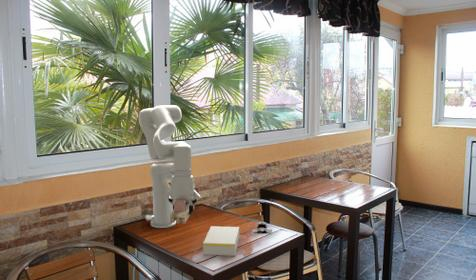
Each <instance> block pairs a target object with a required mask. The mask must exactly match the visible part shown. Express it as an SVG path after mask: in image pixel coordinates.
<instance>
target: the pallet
mask: <svg viewBox="0 0 476 280" xmlns="http://www.w3.org/2000/svg"><path fill="white" fill-rule="evenodd" d="M189 205H190V203H189V204H186V210H185V211H184V212H174V210H173V211H172V212H171V214H170V222H171V223H174V222H175V220H176V224H180V223H181V224H184V225H185V224H186V222H188V219H189V217H190V216H191V215H190V214H189ZM194 210H195V203H194V204H193V211H194Z"/></svg>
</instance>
